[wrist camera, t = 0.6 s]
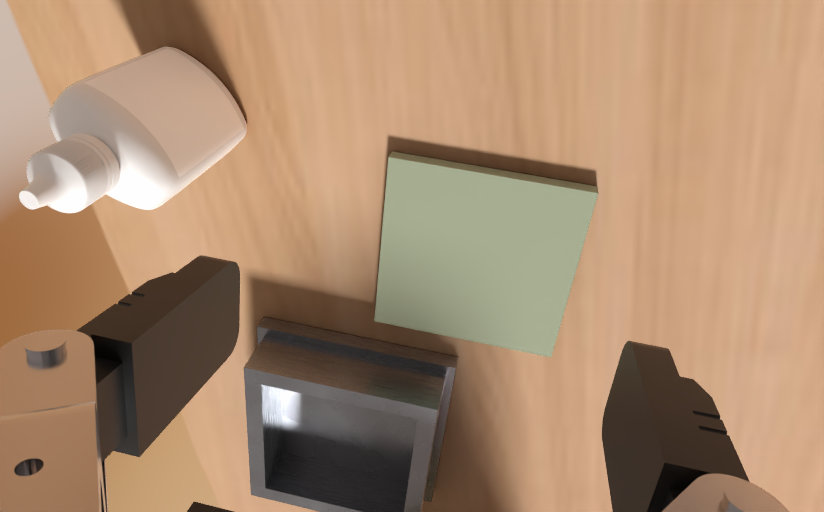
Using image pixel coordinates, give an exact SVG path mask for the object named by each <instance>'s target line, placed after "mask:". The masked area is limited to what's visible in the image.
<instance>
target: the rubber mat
mask: <svg viewBox="0 0 824 512" xmlns="http://www.w3.org/2000/svg"><path fill="white" fill-rule="evenodd" d="M597 196H598V188H597V186H592V185H586V184H581V183H575V182H569V181H563V180H557V179H551V178H546V177H540V176H534V175H528V174H522V173H516V172H511V171H505V170H499V169H493V168H487V167H481V166H476V165H470V164H464V163H458V162H452V161H446V160H440V159H435V158H429V157H423V156H417V155H411V154H405V153H400V152H394V151H392V152H391V154H390V155H389V157H388V168H387V180H386V192H385V203H384V215H383V226H382V238H381V250H380V261H379V273H378V284H377V296H376V308H375V319H374V321H375V322H380V323H385V324H390V325H395V326H400V327H405V328H409V329H414V330H419V331H424V332H429V333H434V334H439V335H444V336H449V337H453V338H458V339H463V340H468V341H473V342H478V343H483V344H488V345H493V346H498V347H502V348H507V349H512V350H517V351H522V352H527V353H532V354H537V355H542V356H546V357H551V356H552V352H553V349H554V346H555V342H556V339H557V335H558V332H559V328H560V325H561V321H562V318H563V314H564V311H565V307H566V304H567V300H568V297H569V293H570V290H571V286H572V283H573V279H574V276H575V273H576V269H577V266H578V262H579V259H580V255H581V252H582V248H583V245H584V241H585V238H586V234H587V231H588V227H589V224H590V220H591V217H592V213H593V210H594V207H595V203H596V200H597Z"/></svg>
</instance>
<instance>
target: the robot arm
mask: <svg viewBox="0 0 824 512" xmlns="http://www.w3.org/2000/svg"><path fill="white" fill-rule="evenodd" d="M239 304H240V271H239V267H238V264H237V263H236V262H232V261H227V260H222V259H217V258H212V257H207V256H199V257H197V258H196V259H194V260H193V261H191V262H190V263H189V264H187V265H186V266H184V267H183V268H182V269H180V270H179V271H178V272H176V273H169V274H166V275H163V276H161V277H158V278H155V279H152V280H149V281H147V282H146V283H144V284H143V285H142V286H140V287H139V288H137V289H136V290H134V291H133V292H132V295H130V294H129V295H127V296H126V297H124V298H123V299H121V300H120V301H119V303H118V304H114V305H113V306H111V307H110V308H109V309H107V310H106V311H104V312H103V313H101V314H100V315H98V316H97V317H95V318H94V319H93V320H92V321H90V322H88V323H87V324H85V325H84V326H82V327H81V328H80V329H78V330H77V331H74V330H66V329H54V330H53V329H52V330H43V331H38V332H33V333H29V334H26V335H23V336H21V337H18V338H16V339H14V340H12V341H10V342H8V343H7V344H5V345H4V346H3V347H2V348H1V349H0V512H108V499H107V483H106V467H105V459H106V458H107V456H108V455H109V454H110V453H111V452H112V451H117V452H121V453H125V454H129V455H133V456H137V457H140V456H141V455H142V454H143V452H144V451H145V450H146V449H147V448H148V447H149V446H150V445H151V443H152V442H153V441H154V440H155V439H156V438H157V437H158V436H159V434H160V433H161V432H162V431H163V430H164V429H165V428H166V427H167V426H168V424H169V423H170V422H171V421H172V420H173V419H174V418H175V417H176V415H177V414H178V413H179V412H180V411H181V410H182V409H183V408H184V407H185V405H186V404H187V403H188V402H189V401H190V400H191V399H192V398H193V396H194V395H195V394H196V393H197V392H198V391H199V390H200V389H201V388H202V386H203V385H204V384H205V383H206V382H207V381H208V380H209V379H210V377H211V376H212V375H213V374H214V373H215V372H216V371H217V370H218V369H219V367H220V366H221V365H222V364H223V363H224V362H225V361H226V360H227V358H228V357H229V356H230V355H231V353H232V351H233V349H234V347H235V345H236V342H237V338H238V333H239ZM602 441H603V448H604V454H605V461H606V468H607V475H608V482H609V488H610V495H611V502H612V509H613V512H789V511H788V510H787V509H786V508H785V506H784V505H783V504H781V503H780V502H779V501H778V500H777V499H776V498H775V497H773V496H772V495H771V494H769V493H768V492H766V491H765V490H763V489H762V488H760V487H758V486H756V485H754V484H753V483H750V482H749V480H748V477H747V475H746V473H745V471H744V468H743V466H742V464H741V462H740V459H739V457H738V455H737V453H736V450H735V448H734V446H733V444H732V441H731V439H730V437H729V436H728V435H727V430H726V428H725V426H724V424H723V421H722V420H720V415H719V412H718V410H717V408H716V406H715V403H714V401H713V399H712V397H711V396H710V395H709V394H708V393H707V392H706V391H705V390H704V389H703V388H702V387H701V386H700V385H699V384H698V383H697V382H695V381H694V380H693V379H689V378H684V377H680V376H679V374H678V371H677V369H676V366H675V363H674V361H673V358H672V356H671V353H670V351H669V349H667V348H662V347H657V346H652V345H647V344H642V343H637V342H632V341H628V342H626V344H625V346H624V348H623V350H622V354H621V357H620V360H619V364H618V367H617V370H616V374H615V377H614V380H613V384H612V387H611V390H610V394H609V397H608V400H607V404H606V407H605V411H604V417H603V424H602ZM187 512H233V511H229V510H225V509H221V508H217V507H213V506H209V505H205V504H201V503H198V502H193V504H192V505H191V507H190V508H189V510H188V511H187Z"/></svg>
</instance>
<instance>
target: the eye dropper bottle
mask: <svg viewBox="0 0 824 512" xmlns="http://www.w3.org/2000/svg"><path fill="white" fill-rule="evenodd" d="M49 122H50V126H51V129H52V131H53V134H54V136H55V138H56V140H57V143H55V144H53V145H51V146H49V147H47V148H45V149H43V150H41V151H39V152H37V153H35V154H34V155H33V156H32V157H31V158H30V160H29V161H28V163H27V178H28V181H29V185H28V186H27V187H25V188H24V189H23V190H22V191H21V192H20V194H19V198H20V201H21V203H22V204H23V205H24V206H25V207H27V208H29V209H36V208H40V207H42V206H45V205H48V206H49V207H51V208H53V209H55V210H57V211H60V212H64V213H75V212H79V211H81V210H83V209H84V208H86V207H87V206H89V205H90V204H92V203H93V202H95V201H96V200H98V199H99V198H101V197H102V196H104V195H105V194H106V195H108V196H110V197H112V198H114V199H116V200H118V201H120V202H123V203H125V204H128V205H130V206H133V207H136V208H139V209H145V210H152V209H155V208H157V207H159V206H161V205H163V204H164V203H165V202H167V201H168V200H169V199H171V198H172V197H173V196H175V195H176V194H177V193H178V192H180V191H181V190H182V189H183V188H185V187H186V186H187V185H188V184H190V183H191V182H192V181H194V180H195V179H196V178H197V177H199V176H200V175H201V174H202V173H204V172H205V171H206V170H207V169H209V168H210V167H211V166H212V165H214V164H215V163H216V162H217V161H219V160H220V159H221V158H222V157H224V156H225V155H226V154H227V153H228V152H230V151H231V150H232V149H233V148H234V147H235V146H236V145H237V144H238V143H239V142H240V141H241V140H242V139H243V138H244V137H245V134H246V132H247V124H246V121H245V118H244V116H243V114H242V112H241V110H240V108H239V106H238V104H237V103H236V101H235V99H234V98H233V96H232V95H231V93H230V92H229V91H228V89H227V88H226V87H225V85H224V84H223V83H222V82H221V81H220V80H219V79H218V78H217V77H216V76H215V75H214V74H213V73H212V72H211V71H210V70H209V69H208V68H207V67H205V66H204V65H203V64H201V63H200V62H199V61H197V60H196V59H194V58H193V57H191V56H190V55H188V54H186V53H185V52H183V51H181V50H179V49H176V48H174V47H162V48H159V49H157V50H154V51H151V52H149V53H146V54H144V55H141V56H139V57H136V58H134V59H131V60H129V61H126V62H124V63H121V64H119V65H116V66H114V67H111V68H109V69H106V70H104V71H101V72H99V73H97V74H94V75H92V76H90V77H87V78H85V79H83V80H80V81H78V82H76V83H74V84H72V85H70V86H69V87H67V88H66V89H65V90H64V91H63V92H62V93H61V94H60V96H59V97H58V98H57V99H56V101H55V102H54V103H53V105H52V107H51V108H50V111H49Z"/></svg>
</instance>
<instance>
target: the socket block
mask: <svg viewBox="0 0 824 512" xmlns="http://www.w3.org/2000/svg"><path fill="white" fill-rule="evenodd" d="M257 339H258V347H257V348H256V350H255V351H254V353H253V354H252V356H251V357H250V359H249V360H248V362H247V364H246V365H245V367H244V379H245V396H246V414H247V431H248V449H249V466H250V484H251V495H254V496H258V497H262V498H266V499H270V500H275V501H279V502H283V503H287V504H291V505H295V506H299V507H303V508H307V509H312V510H316V511H320V512H421V511H422V507H423V502H424V500H425V501H429V502H431V501H432V496H433V491H434V486H435V480H436V475H437V469H438V464H439V458H440V453H441V448H442V442H443V437H444V431H445V426H446V420H447V415H448V409H449V404H450V398H451V393H452V388H453V382H454V377H455V371H456V366H457V360H458V357H455V356H450V355H445V354H440V353H436V352H431V351H426V350H421V349H416V348H411V347H407V346H402V345H397V344H392V343H387V342H383V341H378V340H373V339H368V338H363V337H359V336H354V335H349V334H344V333H339V332H334V331H330V330H325V329H320V328H315V327H310V326H306V325H301V324H296V323H291V322H286V321H282V320H277V319H272V318H267V317H263V319H262V320H261V321H260V323H259V324H258V326H257Z"/></svg>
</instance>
